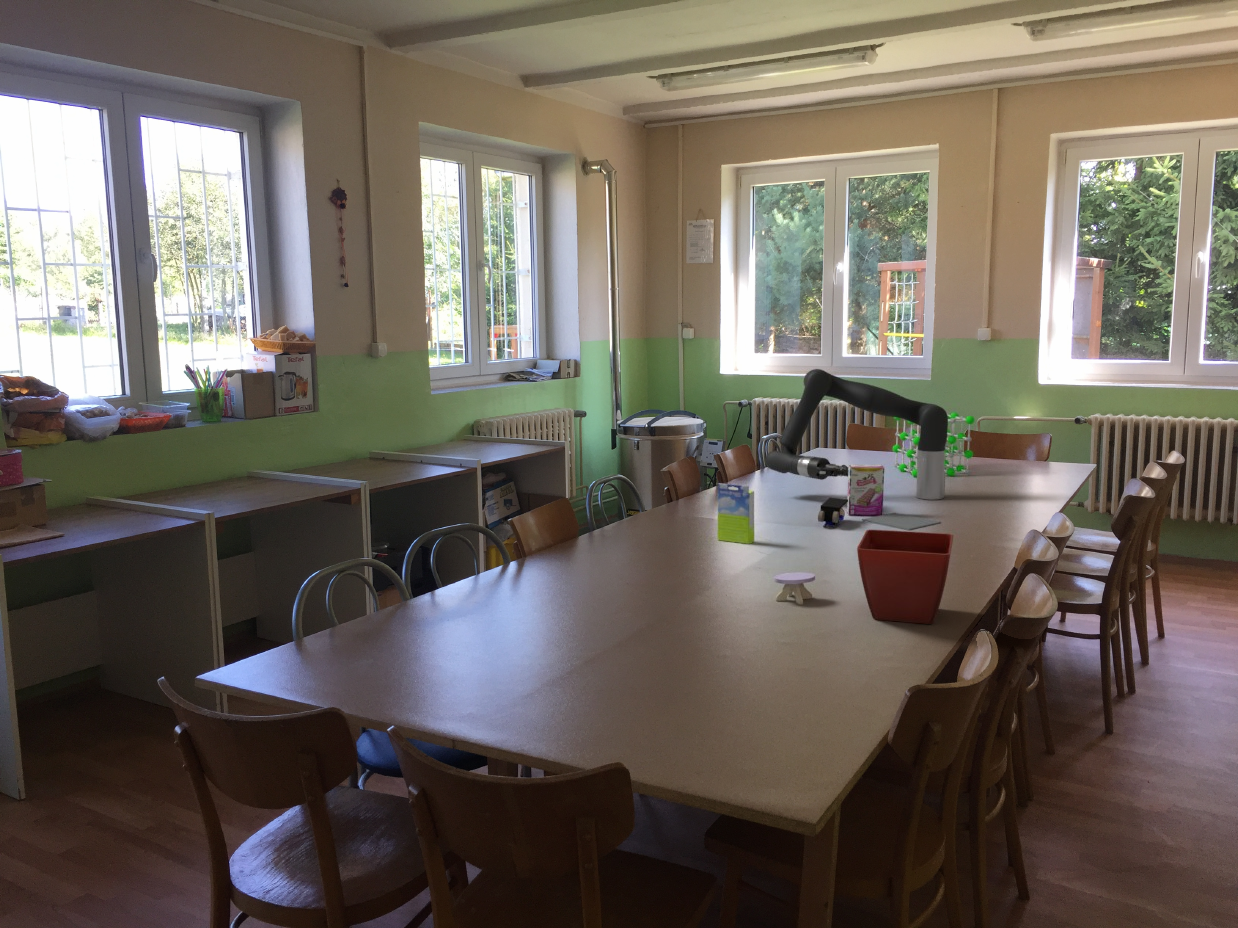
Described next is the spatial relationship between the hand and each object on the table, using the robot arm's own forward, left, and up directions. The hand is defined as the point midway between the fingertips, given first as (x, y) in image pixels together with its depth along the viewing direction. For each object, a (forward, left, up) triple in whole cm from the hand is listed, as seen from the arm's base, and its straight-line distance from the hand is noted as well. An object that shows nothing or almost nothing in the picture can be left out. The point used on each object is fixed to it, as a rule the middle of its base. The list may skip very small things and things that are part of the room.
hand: (852, 473), depth 323 cm
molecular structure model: (-86, -32, -13) cm, 93 cm away
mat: (0, +20, -13) cm, 24 cm away
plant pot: (+77, +80, -13) cm, 112 cm away
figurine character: (+19, +8, -13) cm, 25 cm away
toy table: (+87, +57, -13) cm, 105 cm away
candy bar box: (0, +6, -13) cm, 14 cm away
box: (+58, +6, -13) cm, 60 cm away
